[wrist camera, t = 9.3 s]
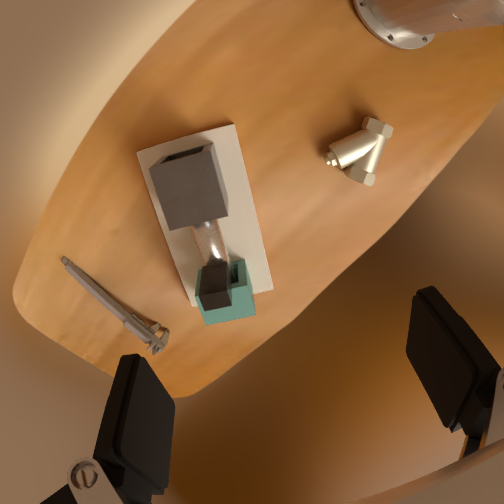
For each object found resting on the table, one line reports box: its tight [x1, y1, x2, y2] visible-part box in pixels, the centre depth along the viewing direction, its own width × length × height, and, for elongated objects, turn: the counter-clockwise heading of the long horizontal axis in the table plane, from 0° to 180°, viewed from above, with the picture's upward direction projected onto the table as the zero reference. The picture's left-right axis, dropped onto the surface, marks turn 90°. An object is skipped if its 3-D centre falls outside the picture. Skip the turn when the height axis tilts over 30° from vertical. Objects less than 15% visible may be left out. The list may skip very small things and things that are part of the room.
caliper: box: [62, 256, 170, 355], centre depth 42 cm, size 20×1×6 cm, turn 47°
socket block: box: [195, 259, 256, 325], centre depth 40 cm, size 6×5×6 cm
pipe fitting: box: [324, 116, 393, 186], centre depth 35 cm, size 8×4×7 cm
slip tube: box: [189, 219, 237, 311], centre depth 35 cm, size 3×14×9 cm, turn 13°
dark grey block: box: [149, 142, 228, 231], centre depth 33 cm, size 6×7×6 cm
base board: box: [136, 124, 274, 307], centre depth 40 cm, size 12×23×1 cm, turn 13°
